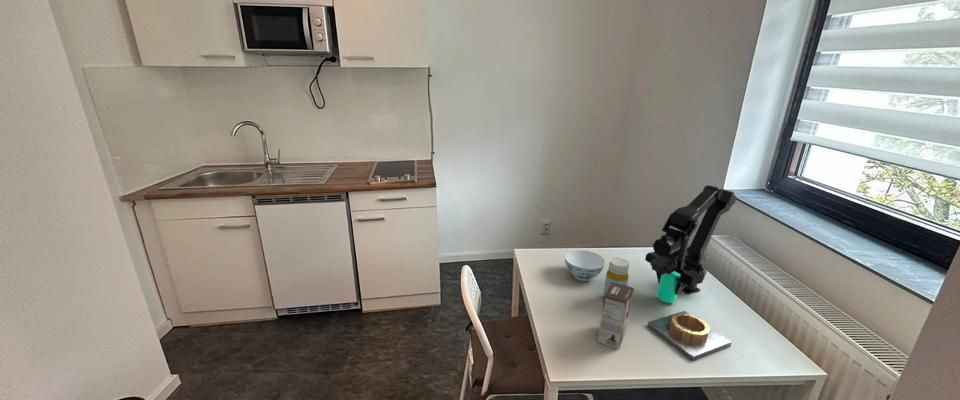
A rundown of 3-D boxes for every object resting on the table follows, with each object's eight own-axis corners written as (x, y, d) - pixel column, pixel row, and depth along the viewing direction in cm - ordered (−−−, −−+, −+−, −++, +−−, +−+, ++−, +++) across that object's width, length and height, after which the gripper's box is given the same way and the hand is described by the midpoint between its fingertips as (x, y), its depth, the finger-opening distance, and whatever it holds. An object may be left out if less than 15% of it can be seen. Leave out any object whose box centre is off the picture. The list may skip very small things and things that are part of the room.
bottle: (625, 307, 127) (632, 268, 122) (603, 304, 128) (609, 265, 123) (622, 296, 133) (628, 258, 128) (601, 293, 134) (607, 256, 129)
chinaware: (607, 274, 147) (609, 256, 145) (596, 291, 135) (598, 272, 133) (570, 263, 155) (572, 246, 152) (556, 279, 143) (558, 261, 140)
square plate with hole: (683, 314, 124) (686, 302, 122) (730, 346, 110) (734, 333, 108) (646, 326, 117) (649, 314, 116) (692, 361, 104) (695, 347, 102)
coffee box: (605, 325, 117) (612, 280, 112) (626, 332, 114) (634, 287, 109) (596, 342, 110) (604, 295, 105) (619, 350, 107) (628, 302, 102)
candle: (671, 293, 133) (678, 263, 129) (678, 303, 127) (685, 272, 123) (654, 292, 133) (660, 262, 129) (660, 302, 128) (667, 271, 124)
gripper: (637, 240, 129) (630, 280, 134) (683, 265, 113) (673, 309, 118) (660, 235, 133) (653, 274, 139) (709, 259, 117) (698, 302, 122)
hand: (668, 289), depth 129 cm, fingers closed on candle, 7 cm apart
